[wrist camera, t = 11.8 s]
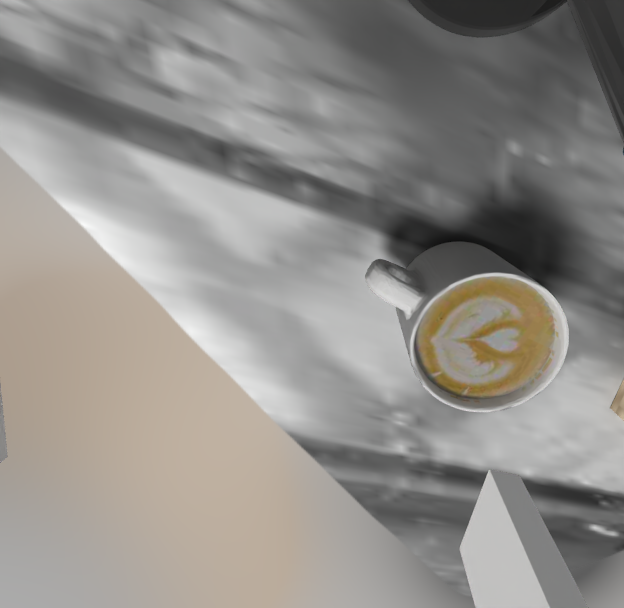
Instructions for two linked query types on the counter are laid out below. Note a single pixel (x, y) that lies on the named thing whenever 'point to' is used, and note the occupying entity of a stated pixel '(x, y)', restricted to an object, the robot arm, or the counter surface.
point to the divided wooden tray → (619, 402)
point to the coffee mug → (474, 325)
